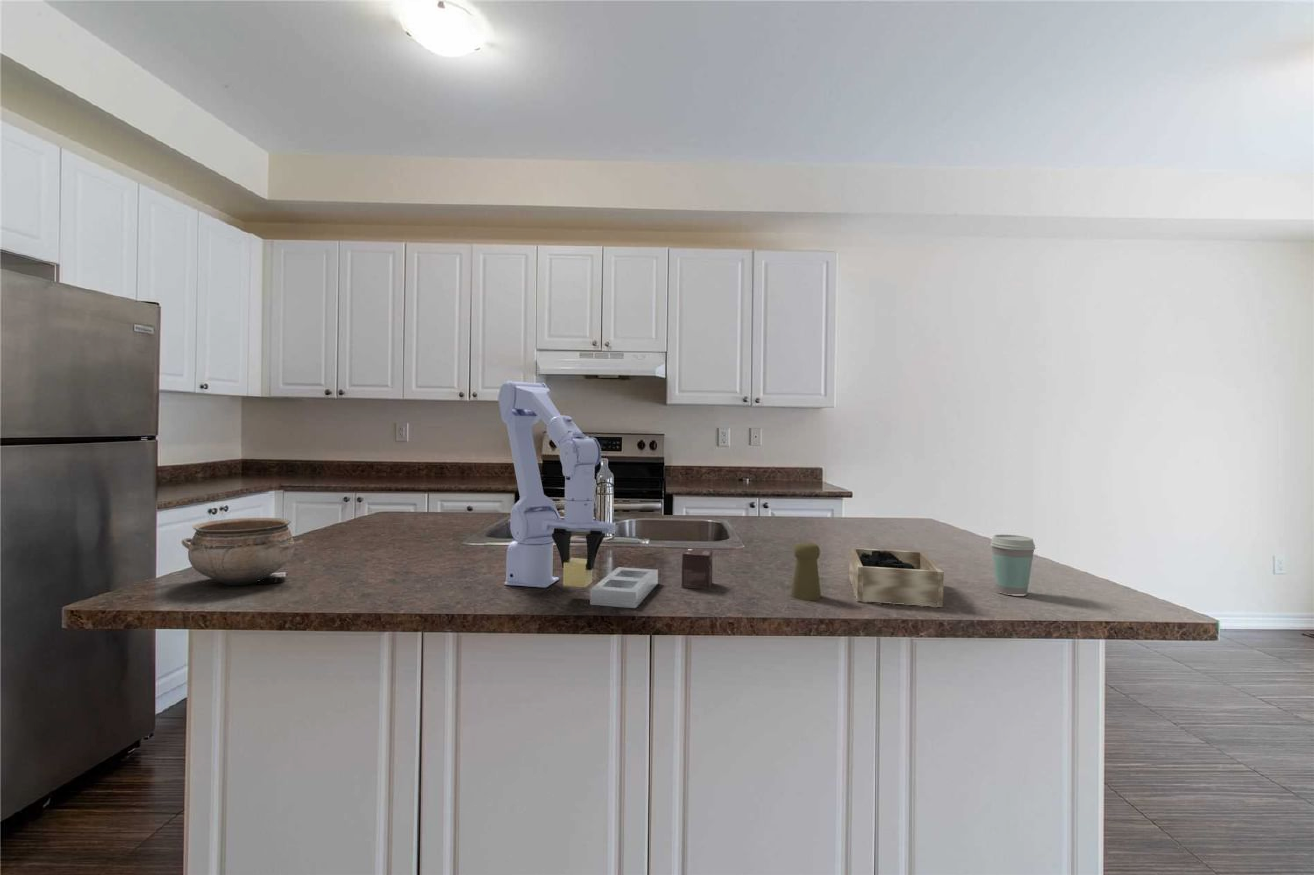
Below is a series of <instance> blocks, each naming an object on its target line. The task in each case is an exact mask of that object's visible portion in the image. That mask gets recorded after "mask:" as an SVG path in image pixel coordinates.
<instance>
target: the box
mask: <svg viewBox="0 0 1314 875" xmlns="http://www.w3.org/2000/svg"><path fill="white" fill-rule="evenodd" d="M681 557H682V558H681V588H685V589H686V588H688V589H689V588H690V589H692V588H693V589H705V590H708V589H710V588H711V586H712V584H713V549H711V550H710V549H697V548H696V549H694V548H693V549H692V548H687V549H685V550H684V551H683V552H682V554H681Z"/></svg>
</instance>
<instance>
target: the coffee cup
mask: <svg viewBox="0 0 1314 875" xmlns="http://www.w3.org/2000/svg"><path fill="white" fill-rule="evenodd" d="M990 546H991V549H992V551H991V552H992V561H993V562H992V564H993V573H994V584H995V591H996V590H997V591H999V592H1002V593H1006V594H1026V593H1027V594H1028V591H1029V583H1030V576H1031V571H1032V564H1033V558H1034V552H1035V550H1036V549H1037V548H1036V544H1035V543H1034V538H1032V537H1029V536H1024V535H1023V536H1022V535H1016V534H994V535H993V536H992V539H991V541H990Z"/></svg>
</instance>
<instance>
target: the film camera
mask: <svg viewBox="0 0 1314 875" xmlns="http://www.w3.org/2000/svg"><path fill="white" fill-rule="evenodd" d="M859 559H860V561H861V563H862V565H863V566H868V567H884V568H901V569H915V568H914V566H913V565H911V564H909V563H905V562H902V561H899V559H898V558H897V557H895V556H894V555H893V554H891V553H890V552H886V551H884V552H880V551H872V554H871V555H870V554H866V553H863V554H862V555H861V557H859Z"/></svg>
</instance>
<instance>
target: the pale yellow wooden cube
mask: <svg viewBox="0 0 1314 875" xmlns="http://www.w3.org/2000/svg"><path fill="white" fill-rule="evenodd" d="M562 569H563V570H562V571H563V573H562V577H563V578H562V579H563V580H562V585H563V586H565V587H577V588H587V587H588V586H589V585H590V584H591V583H593V569H594V568H593V569H592V570H587V558H579V557H571V558H570V559H569V560H567V561H565V562H564V568H562Z"/></svg>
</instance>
